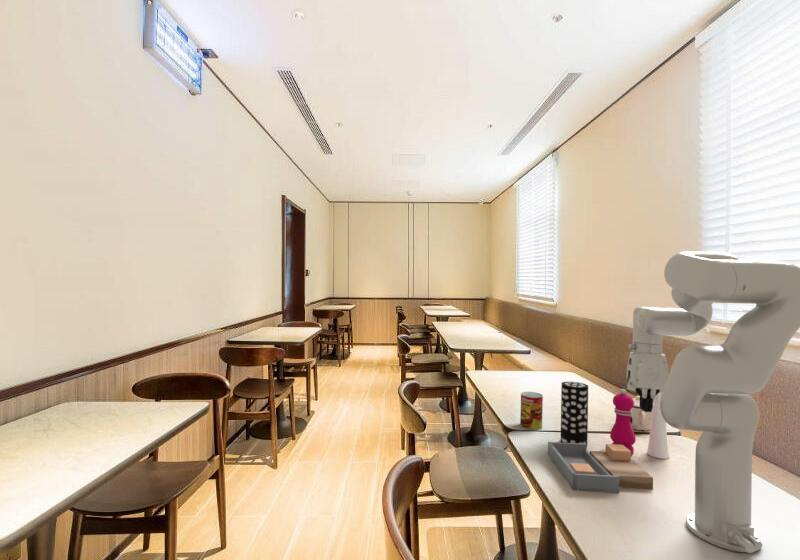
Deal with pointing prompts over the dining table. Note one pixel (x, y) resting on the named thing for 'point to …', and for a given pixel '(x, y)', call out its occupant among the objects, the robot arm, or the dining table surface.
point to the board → (625, 471)
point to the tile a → (582, 468)
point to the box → (578, 454)
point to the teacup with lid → (639, 417)
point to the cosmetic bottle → (658, 432)
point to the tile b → (618, 452)
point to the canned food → (531, 410)
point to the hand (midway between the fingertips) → (646, 410)
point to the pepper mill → (623, 421)
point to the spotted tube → (574, 412)
